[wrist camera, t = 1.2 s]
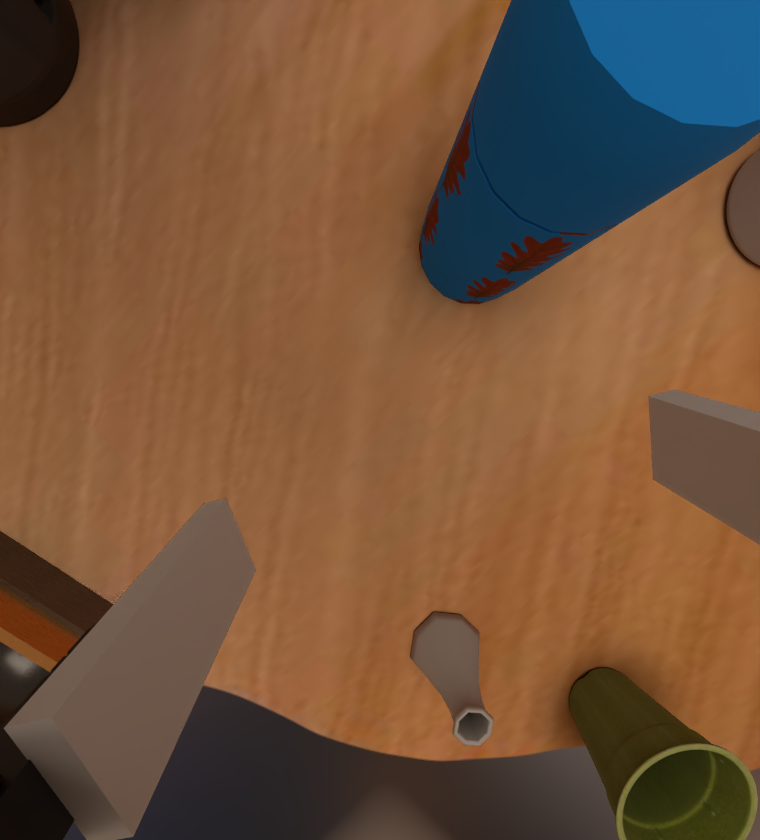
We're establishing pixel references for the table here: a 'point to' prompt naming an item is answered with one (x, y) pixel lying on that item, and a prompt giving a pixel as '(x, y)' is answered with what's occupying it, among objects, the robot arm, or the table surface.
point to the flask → (454, 672)
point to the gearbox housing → (37, 620)
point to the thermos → (586, 130)
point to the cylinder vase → (746, 209)
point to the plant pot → (659, 766)
